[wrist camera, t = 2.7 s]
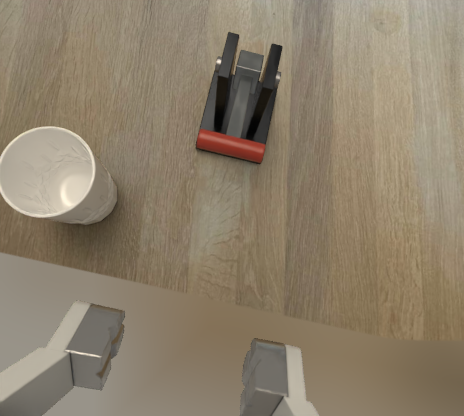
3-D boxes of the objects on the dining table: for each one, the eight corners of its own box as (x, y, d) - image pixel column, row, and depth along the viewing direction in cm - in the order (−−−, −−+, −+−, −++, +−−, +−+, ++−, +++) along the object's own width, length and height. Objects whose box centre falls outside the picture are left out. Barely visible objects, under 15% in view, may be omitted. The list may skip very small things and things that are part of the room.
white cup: (43, 223, 36) (-17, 208, 26) (61, 156, 37) (11, 118, 28) (114, 235, 37) (82, 225, 27) (129, 168, 38) (104, 135, 28)
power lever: (258, 170, 25) (266, 148, 23) (195, 155, 25) (197, 132, 23) (271, 81, 32) (278, 58, 30) (222, 68, 32) (226, 45, 30)
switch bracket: (260, 164, 39) (284, 123, 28) (195, 148, 39) (192, 100, 28) (275, 90, 41) (304, 23, 30) (214, 75, 41) (219, 0, 29)
